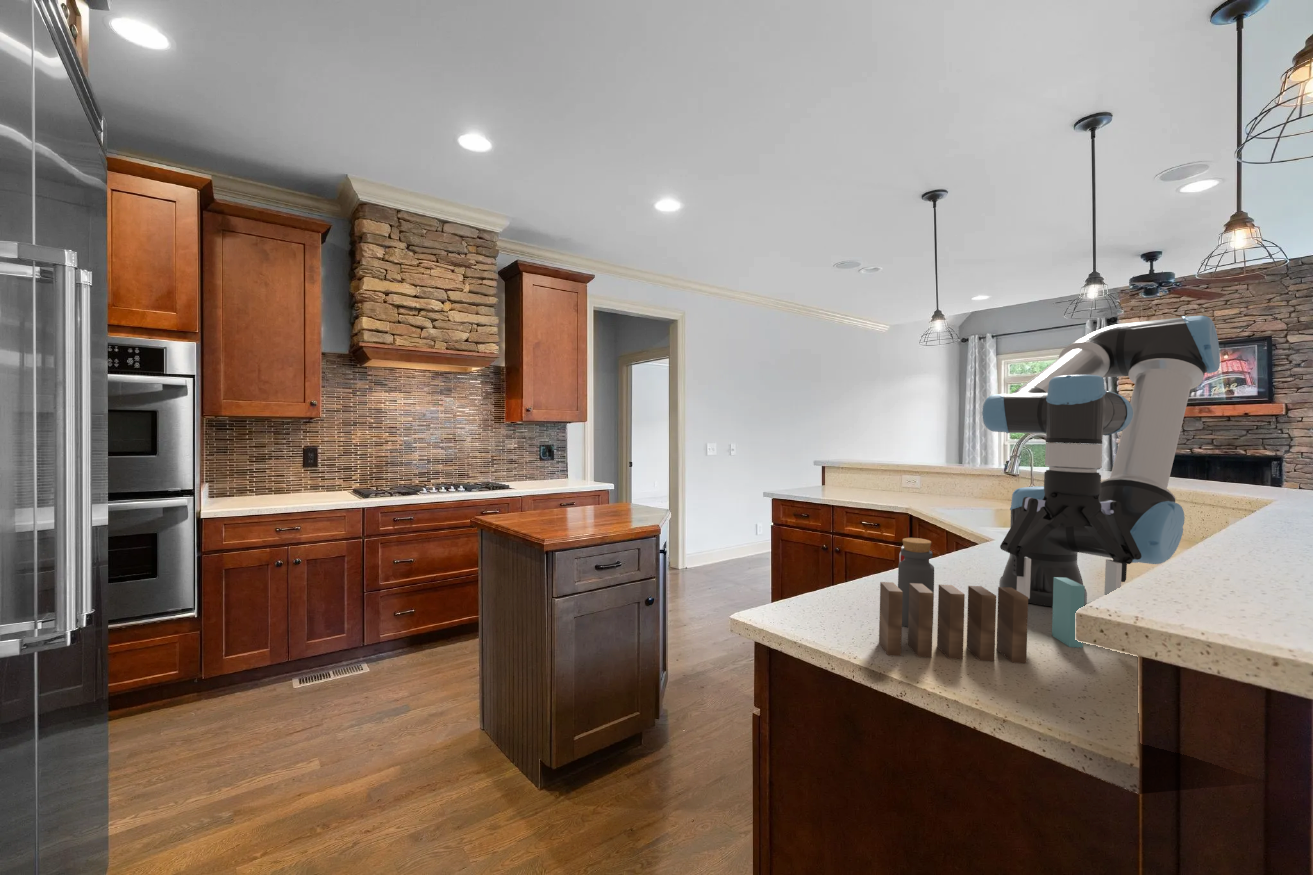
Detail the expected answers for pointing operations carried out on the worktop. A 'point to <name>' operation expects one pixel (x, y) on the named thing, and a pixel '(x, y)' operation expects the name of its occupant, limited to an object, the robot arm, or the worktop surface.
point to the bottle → (914, 570)
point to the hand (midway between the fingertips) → (1067, 598)
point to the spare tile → (1066, 609)
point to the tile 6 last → (890, 618)
